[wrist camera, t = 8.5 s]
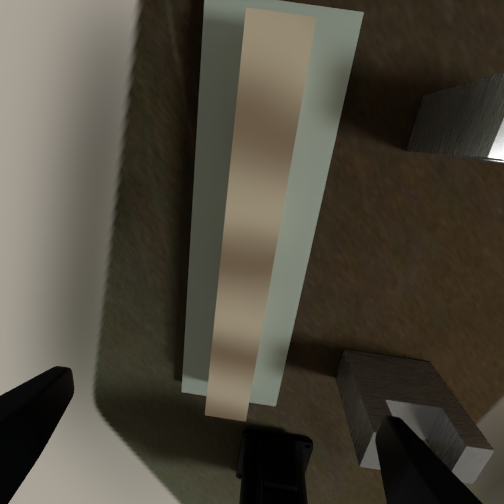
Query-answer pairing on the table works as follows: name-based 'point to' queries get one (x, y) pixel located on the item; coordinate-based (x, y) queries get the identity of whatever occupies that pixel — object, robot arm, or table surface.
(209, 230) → the sage board
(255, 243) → the birch rail
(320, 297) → the table surface
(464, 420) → the steel stands
